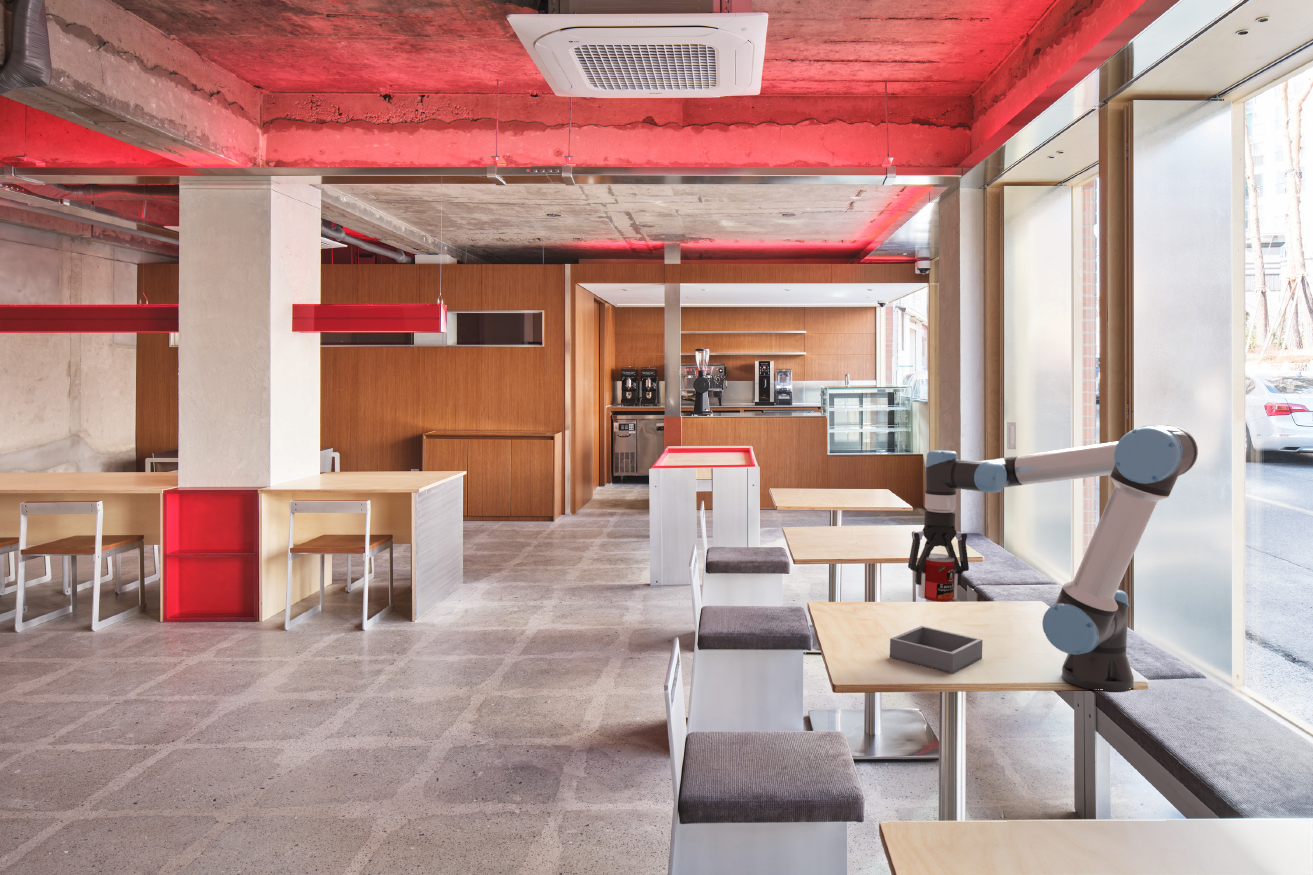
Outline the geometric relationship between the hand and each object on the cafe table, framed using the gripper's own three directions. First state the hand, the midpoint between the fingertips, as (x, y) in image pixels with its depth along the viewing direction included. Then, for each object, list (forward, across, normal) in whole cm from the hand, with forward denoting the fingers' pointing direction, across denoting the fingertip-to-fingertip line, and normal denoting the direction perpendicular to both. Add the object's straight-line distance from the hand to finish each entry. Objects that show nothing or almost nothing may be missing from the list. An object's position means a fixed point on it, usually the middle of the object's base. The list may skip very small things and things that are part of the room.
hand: (937, 597), depth 209 cm
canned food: (0, 0, 0) cm, 0 cm away
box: (+16, 0, 0) cm, 16 cm away
